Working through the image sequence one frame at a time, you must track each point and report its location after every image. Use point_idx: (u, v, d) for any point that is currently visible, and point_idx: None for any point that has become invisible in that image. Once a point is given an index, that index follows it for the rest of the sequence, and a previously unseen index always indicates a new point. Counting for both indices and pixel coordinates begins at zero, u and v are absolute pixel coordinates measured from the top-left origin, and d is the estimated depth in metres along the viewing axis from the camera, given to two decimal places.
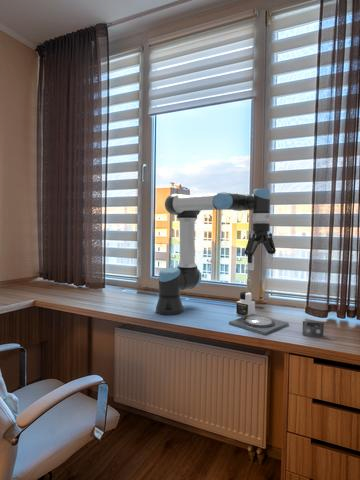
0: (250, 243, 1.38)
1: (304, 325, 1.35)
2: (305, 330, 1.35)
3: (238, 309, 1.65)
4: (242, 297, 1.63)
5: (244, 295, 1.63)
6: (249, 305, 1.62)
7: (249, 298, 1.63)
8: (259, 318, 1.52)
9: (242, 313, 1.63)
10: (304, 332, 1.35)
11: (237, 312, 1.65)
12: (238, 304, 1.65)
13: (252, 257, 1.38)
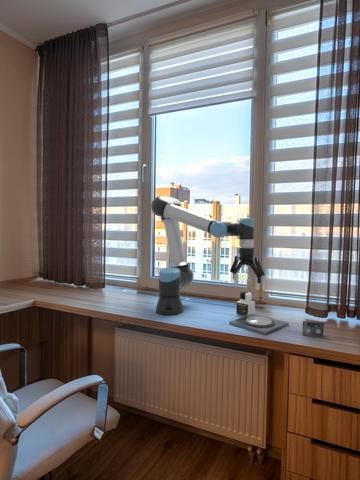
0: None
1: (304, 325, 1.35)
2: (305, 330, 1.35)
3: (238, 309, 1.65)
4: (242, 297, 1.63)
5: (244, 295, 1.63)
6: (249, 305, 1.62)
7: (249, 298, 1.63)
8: (259, 318, 1.52)
9: (242, 313, 1.63)
10: (304, 332, 1.35)
11: (237, 312, 1.65)
12: (238, 304, 1.65)
13: (234, 275, 1.69)
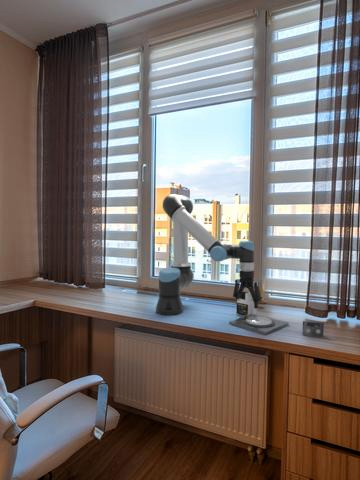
0: None
1: (304, 325, 1.35)
2: (305, 330, 1.35)
3: (238, 309, 1.65)
4: (242, 297, 1.63)
5: (244, 295, 1.63)
6: (249, 305, 1.62)
7: (249, 298, 1.63)
8: (259, 318, 1.52)
9: (242, 313, 1.63)
10: (304, 332, 1.35)
11: (237, 312, 1.65)
12: (238, 304, 1.65)
13: None
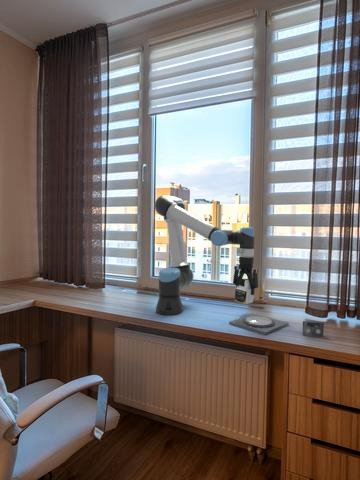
0: None
1: (304, 325, 1.35)
2: (305, 330, 1.35)
3: (236, 295, 1.65)
4: (241, 284, 1.63)
5: (243, 282, 1.62)
6: (248, 292, 1.61)
7: (248, 285, 1.62)
8: (259, 318, 1.52)
9: (240, 300, 1.63)
10: (304, 332, 1.35)
11: (235, 298, 1.65)
12: (237, 290, 1.65)
13: (237, 287, 1.68)
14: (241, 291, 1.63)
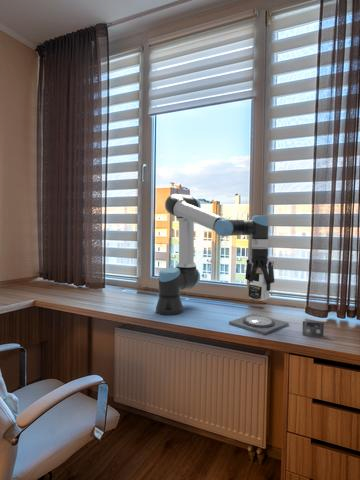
0: None
1: (304, 325, 1.35)
2: (305, 330, 1.35)
3: (250, 292, 1.48)
4: (255, 279, 1.46)
5: (258, 276, 1.46)
6: (263, 288, 1.44)
7: (263, 280, 1.46)
8: (259, 318, 1.52)
9: (255, 297, 1.46)
10: (304, 332, 1.35)
11: (249, 295, 1.48)
12: (251, 286, 1.48)
13: (250, 282, 1.51)
14: (255, 287, 1.46)
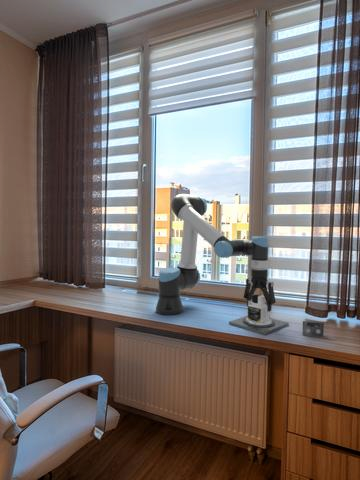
0: None
1: (304, 325, 1.35)
2: (305, 330, 1.35)
3: (250, 314, 1.49)
4: (254, 300, 1.47)
5: (256, 298, 1.46)
6: (262, 309, 1.45)
7: (262, 302, 1.46)
8: None
9: (254, 318, 1.47)
10: (304, 332, 1.35)
11: (249, 317, 1.49)
12: (250, 308, 1.48)
13: None
14: (254, 309, 1.46)
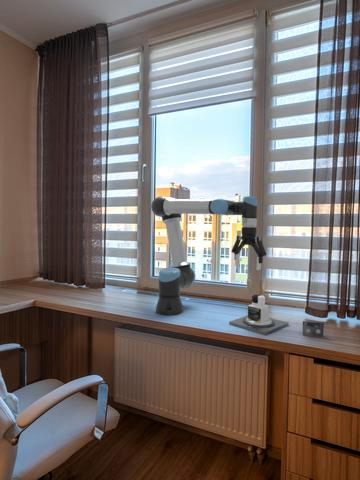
0: None
1: (304, 325, 1.35)
2: (305, 330, 1.35)
3: (250, 314, 1.49)
4: (254, 300, 1.47)
5: (256, 298, 1.46)
6: (262, 309, 1.45)
7: (262, 302, 1.46)
8: None
9: (254, 318, 1.47)
10: (304, 332, 1.35)
11: (249, 317, 1.49)
12: (250, 308, 1.48)
13: None
14: (254, 309, 1.46)
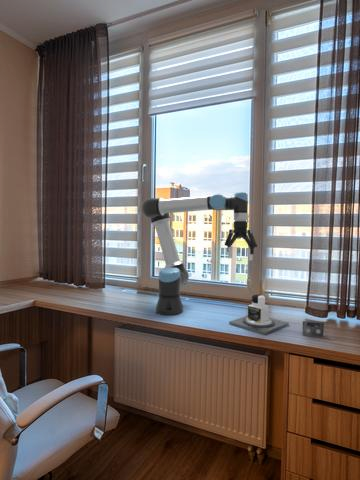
0: None
1: (304, 325, 1.35)
2: (305, 330, 1.35)
3: (250, 314, 1.49)
4: (254, 300, 1.47)
5: (256, 298, 1.46)
6: (262, 309, 1.45)
7: (262, 302, 1.46)
8: None
9: (254, 318, 1.47)
10: (304, 332, 1.35)
11: (249, 317, 1.49)
12: (250, 308, 1.48)
13: None
14: (254, 309, 1.46)
